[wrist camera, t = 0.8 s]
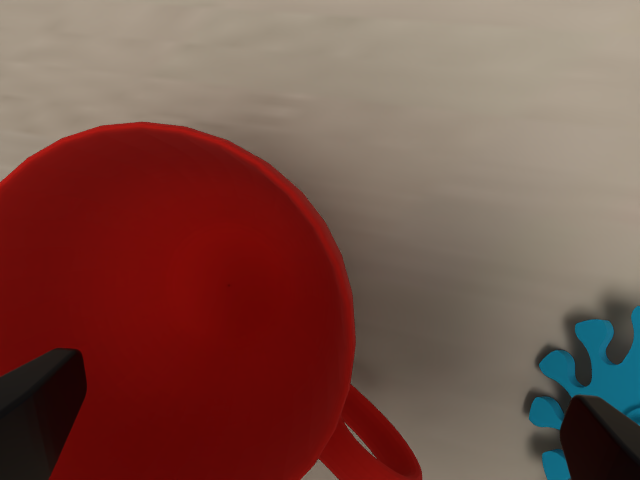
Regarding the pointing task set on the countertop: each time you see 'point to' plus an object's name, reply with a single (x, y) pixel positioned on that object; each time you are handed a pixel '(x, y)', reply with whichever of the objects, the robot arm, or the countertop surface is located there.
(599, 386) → the gear
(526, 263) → the countertop surface
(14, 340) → the ceramic cup
